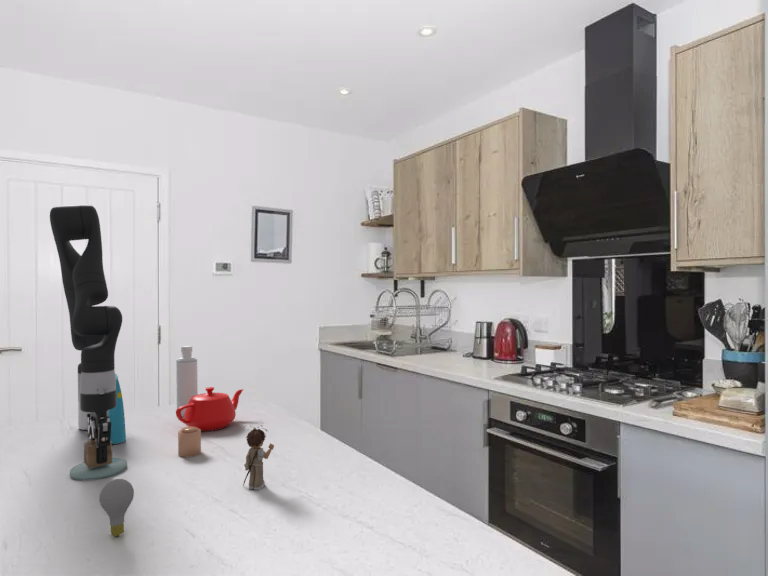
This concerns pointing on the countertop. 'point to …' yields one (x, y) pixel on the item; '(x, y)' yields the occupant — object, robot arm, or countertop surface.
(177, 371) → the white bottle
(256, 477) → the toy
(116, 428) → the tube
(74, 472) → the dish
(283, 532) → the countertop surface
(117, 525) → the light bulb
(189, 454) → the dome-topped cylinder
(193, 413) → the teapot
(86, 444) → the block
